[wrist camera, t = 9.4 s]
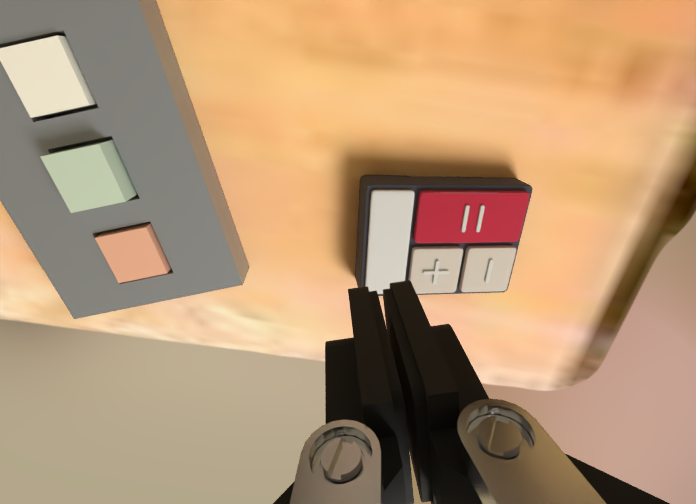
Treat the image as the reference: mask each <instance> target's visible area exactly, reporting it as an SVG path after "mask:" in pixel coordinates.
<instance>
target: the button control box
mask: <svg viewBox="0 0 696 504" xmlns="http://www.w3.org/2000/svg"><path fill="white" fill-rule="evenodd" d="M531 193H532V187H531V186H530V185H528V184H526V183H524V182H522V181H520V180H518V179H516V178H484V177H411V176H394V175H363V176H362V177H361V179H360V191H359V211H358V230H357V250H356V270H355V278H356V281H357V285H358V288H360V287H367V286H368V289H369V291H376V290H377V294H378V296H383V289H390V283H394V282H401V281H408V280H410V281H411V283H412V285H413V287H414V290H415V292H416V294H417V295H425V294H459V293H492V292H505V291H506V290H507V289H508V286H509V282H510V278H511V274H512V270H513V266H514V261H515V257H516V253H517V249H518V245H519V241H520V237H521V233H522V229H523V225H524V221H525V217H526V213H527V209H528V205H529V201H530V197H531Z"/></svg>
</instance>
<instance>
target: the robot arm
mask: <svg viewBox="0 0 696 504" xmlns="http://www.w3.org/2000/svg"><path fill="white" fill-rule="evenodd" d="M348 293H349V301H350V310H351V318H352V327H353V336H354V338H348V339H341V340H334V341H327V342H326V344H325V366H326V367H325V372H326V424H325V425H323V426H321V427H320V428H319V429H317V430H316V431H315V432H313V433H312V434H311V436H310V437H309V438H308V440H307V441H306V442H305V444H304V447H303V450H302V452H301V455H300V460H299V464H298V469H297V473H296V478H295V481H294V483H293V484H292V485H291V486H290V487H289V488H288V489H287V490H286V491H285V492H284V493H283V494H282V495H281V496H280V497H279V498H278V499H277V500H276V501H275V502H274V503H273V504H413V503H414V498H413V488H412V477H411V466H410V455H411V460H412V464H413V468H414V473H415V477H416V481H417V486H418V490H419V494H420V498H421V501H422V502H427V501H431V504H669V503H667V502H665V501H663V500H661V499H659V498H657V497H655V496H653V495H651V494H648V493H646V492H644V491H642V490H640V489H638V488H636V487H634V486H632V485H629V484H628V483H626V482H623V481H621V480H619V479H617V478H615V477H613V476H611V475H609V474H607V473H605V472H603V471H600V470H598V469H596V468H594V467H592V466H590V465H588V464H586V463H584V462H582V461H580V460H577V459H575V458H573V457H571V456H569V455H567V454H565V453H564V452H563V451H562V450H561V449H560V448H559V446H558V445H557V444H556V443H555V441H554V440H553V439H552V438H551V437H550V436H549V434H548V433H547V432H546V431H545V430H544V428H543V427H542V426H541V425H540V424H539V422H538V421H537V420H536V419H535V418H534V417H533V416H532V415H531V414H530V413H528V412H527V411H526V410H524V409H523V408H521V407H519V406H518V405H516V404H513V403H510V402H507V401H504V400H498V399H489V398H488V396H487V394H486V392H485V390H484V388H483V386H482V384H481V382H480V380H479V378H478V376H477V374H476V373H475V371H474V369H473V367H472V365H471V363H470V361H469V359H468V357H467V355H466V353H465V352H464V350H463V348H462V346H461V344H460V342H459V340H458V338H457V336H456V334H455V332H454V331H453V329H452V327H451V326H450V325H449V324H445V325H438V326H430V324H429V321H428V319H427V317H426V315H425V312H424V310H423V308H422V306H421V303H420V301H419V299H418V296H417V294H416V292H415V290H414V287H413V285H412V283H411V281H410V280H408V281H401V282H394V283H390V289H383V299H384V308H385V317H386V325H385V321H384V317H383V313H382V309H381V305H380V301H379V297H378V294H377V290H376V291H369V289H368V286H367V287H360V288H353V289H348ZM386 327H387V329H386ZM409 451H410V455H409Z"/></svg>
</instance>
